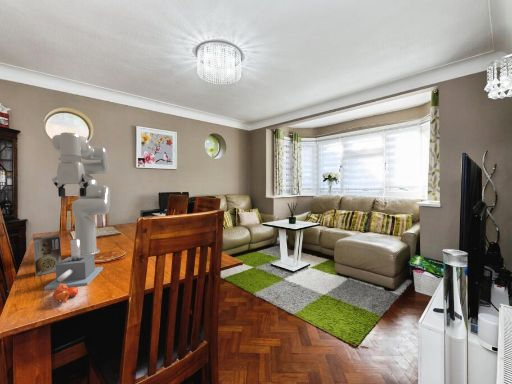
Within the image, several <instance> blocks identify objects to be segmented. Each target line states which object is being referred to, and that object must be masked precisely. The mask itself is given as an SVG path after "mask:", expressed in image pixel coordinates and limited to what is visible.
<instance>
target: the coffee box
mask: <svg viewBox="0 0 512 384" xmlns="http://www.w3.org/2000/svg"><path fill="white" fill-rule="evenodd" d="M32 241H33V255H34V269H35V271H34V273H35V277H37V276H42V275H46V274H51V273H56V264H58V263H60V262H61V261H63V259H62V245H61V236H60V234H52V235H51V234H50V235H43V236H37V237H33V239H32Z"/></svg>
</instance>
